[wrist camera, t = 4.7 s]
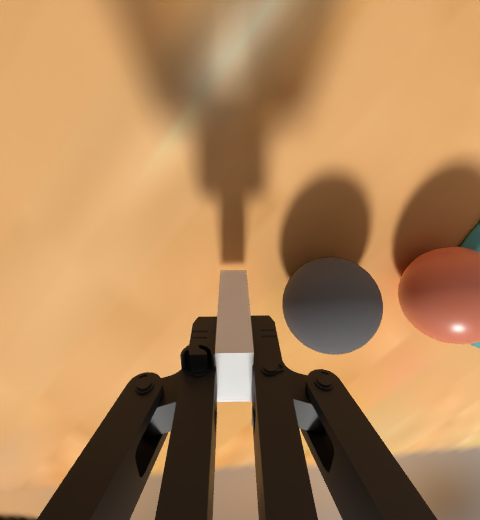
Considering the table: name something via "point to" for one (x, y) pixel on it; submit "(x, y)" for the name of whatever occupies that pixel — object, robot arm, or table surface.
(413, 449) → the table surface
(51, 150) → the table surface
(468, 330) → the object ball
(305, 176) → the table surface
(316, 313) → the dark gray ball
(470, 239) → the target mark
